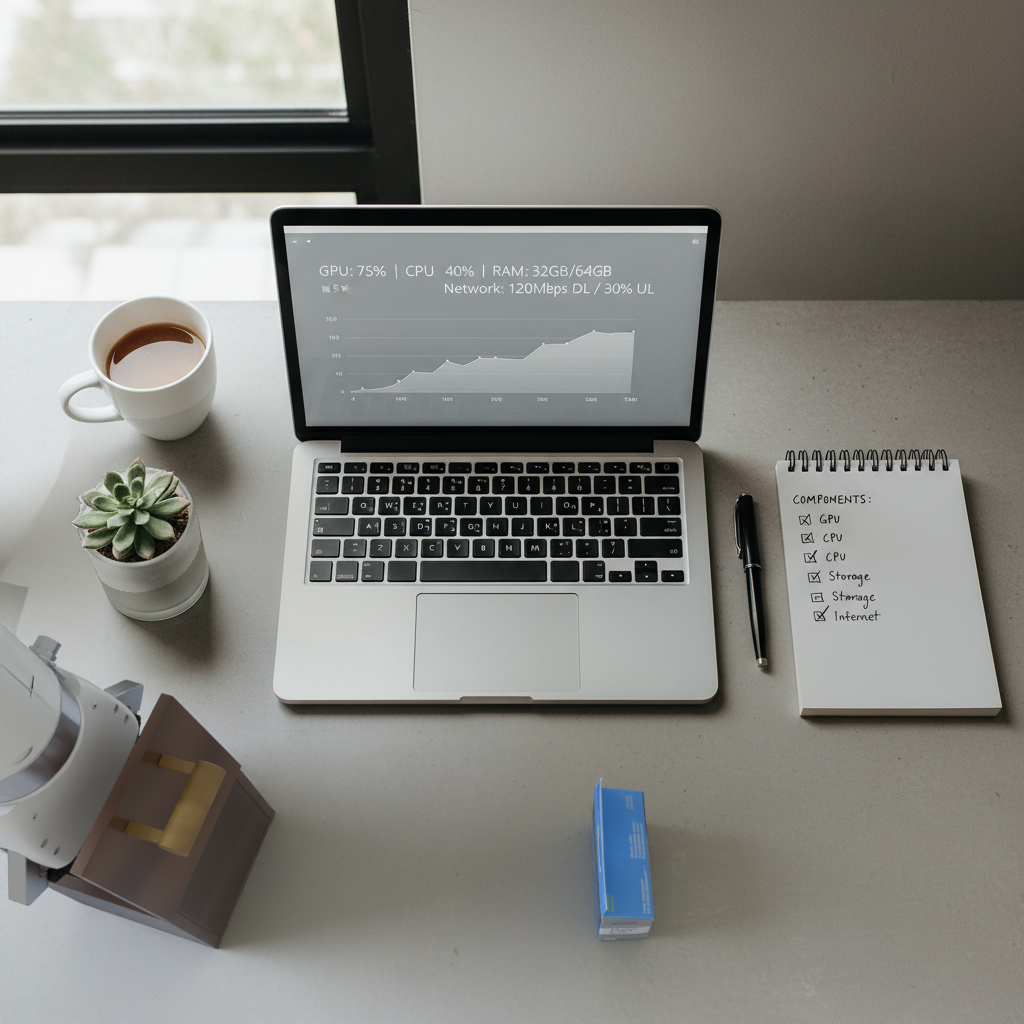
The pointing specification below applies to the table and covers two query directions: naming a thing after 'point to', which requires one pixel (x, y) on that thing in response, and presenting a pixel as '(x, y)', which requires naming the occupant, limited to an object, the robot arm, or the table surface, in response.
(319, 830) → the table surface
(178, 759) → the chest lid
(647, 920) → the label tape box
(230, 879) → the chest
